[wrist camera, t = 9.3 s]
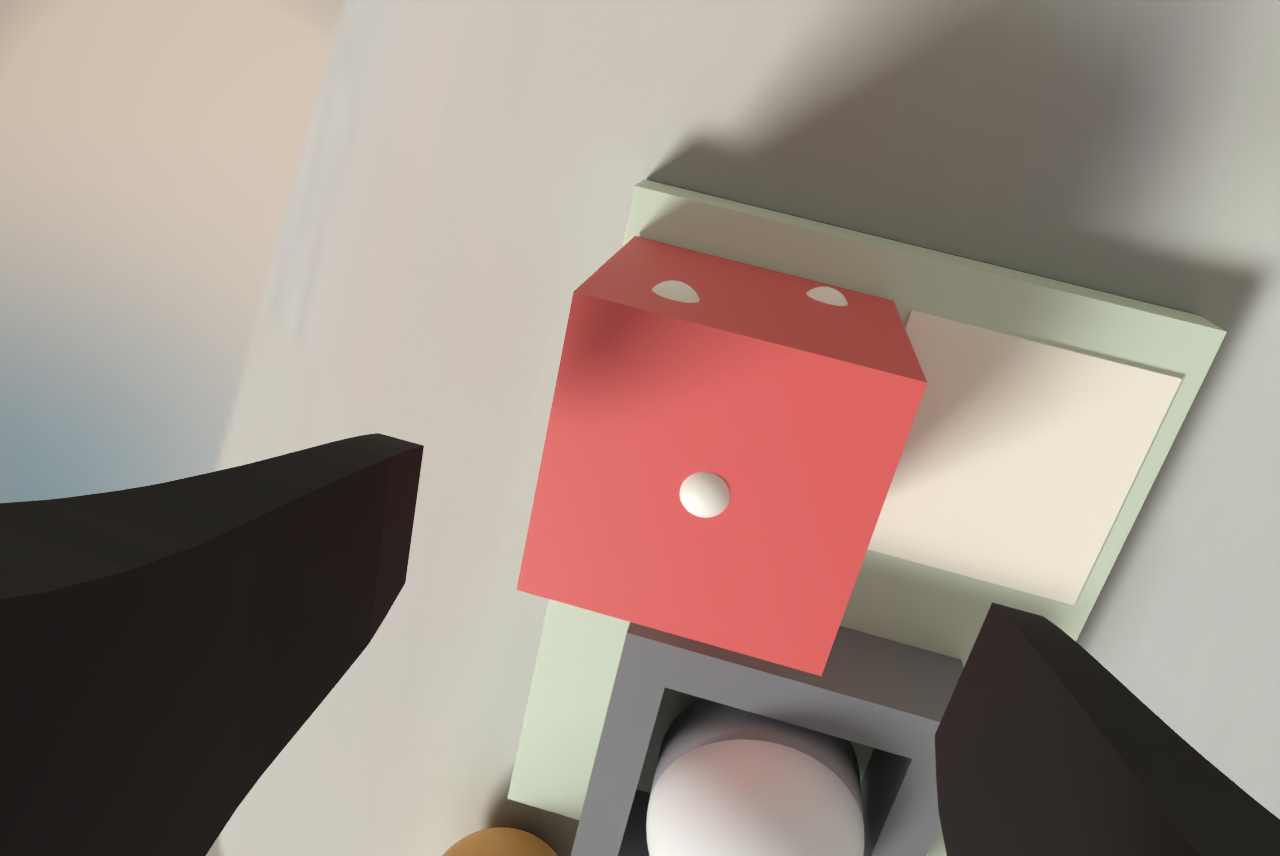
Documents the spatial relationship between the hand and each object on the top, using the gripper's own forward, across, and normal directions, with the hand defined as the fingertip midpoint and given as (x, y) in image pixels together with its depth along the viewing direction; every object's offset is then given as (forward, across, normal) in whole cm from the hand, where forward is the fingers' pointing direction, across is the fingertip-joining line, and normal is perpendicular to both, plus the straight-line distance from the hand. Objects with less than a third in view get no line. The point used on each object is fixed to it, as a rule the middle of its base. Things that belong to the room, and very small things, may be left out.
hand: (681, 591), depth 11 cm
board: (+9, -3, +4) cm, 10 cm away
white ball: (+7, -3, +8) cm, 11 cm away
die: (+8, 0, 0) cm, 8 cm away
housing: (+8, -3, +8) cm, 11 cm away
